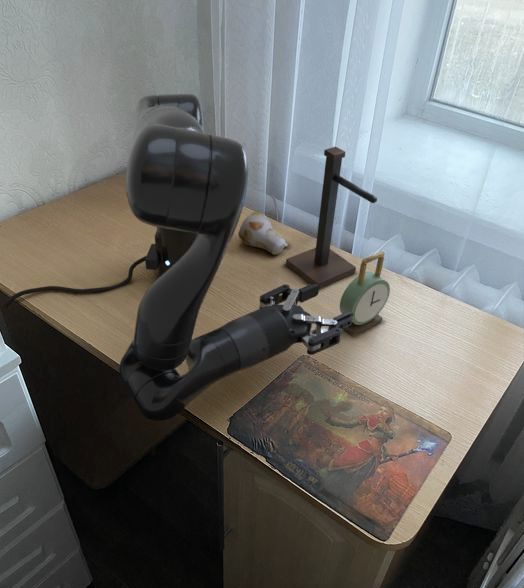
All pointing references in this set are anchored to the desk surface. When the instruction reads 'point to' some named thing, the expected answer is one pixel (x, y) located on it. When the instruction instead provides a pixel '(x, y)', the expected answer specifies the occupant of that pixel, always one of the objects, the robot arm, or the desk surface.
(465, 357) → the desk surface
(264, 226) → the spotted gourd
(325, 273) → the rack
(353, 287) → the clock
